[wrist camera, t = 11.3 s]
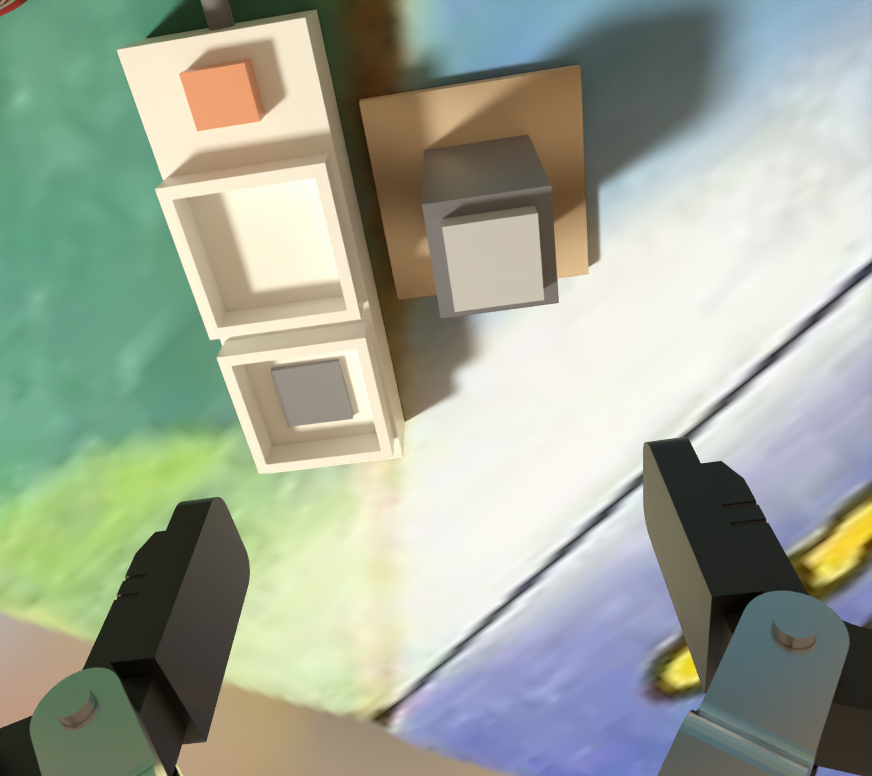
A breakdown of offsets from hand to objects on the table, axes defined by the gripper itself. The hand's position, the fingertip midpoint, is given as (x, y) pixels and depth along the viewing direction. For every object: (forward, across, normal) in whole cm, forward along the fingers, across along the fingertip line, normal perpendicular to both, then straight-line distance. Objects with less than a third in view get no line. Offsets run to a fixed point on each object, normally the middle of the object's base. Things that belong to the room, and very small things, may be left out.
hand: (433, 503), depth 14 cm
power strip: (+21, +7, +1) cm, 22 cm away
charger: (+21, -2, +1) cm, 21 cm away
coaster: (+21, -2, +1) cm, 21 cm away
